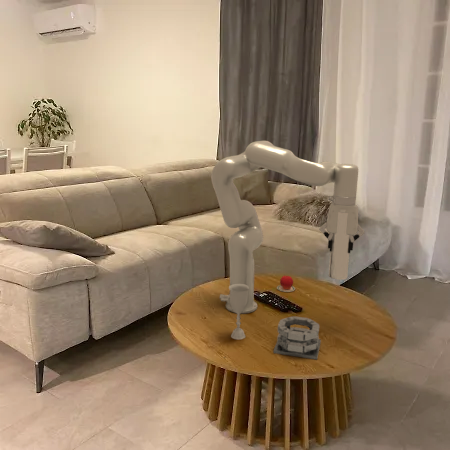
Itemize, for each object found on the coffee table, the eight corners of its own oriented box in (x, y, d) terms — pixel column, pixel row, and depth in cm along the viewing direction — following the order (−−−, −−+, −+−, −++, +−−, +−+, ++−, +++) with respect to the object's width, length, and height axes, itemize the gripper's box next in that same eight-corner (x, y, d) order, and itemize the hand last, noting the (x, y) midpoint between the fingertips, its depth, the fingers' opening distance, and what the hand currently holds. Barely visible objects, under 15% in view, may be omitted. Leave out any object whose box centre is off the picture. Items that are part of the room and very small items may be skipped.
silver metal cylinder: (348, 280, 163) (354, 210, 157) (328, 279, 164) (334, 209, 158) (346, 274, 169) (352, 206, 163) (328, 272, 170) (333, 205, 164)
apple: (274, 286, 210) (274, 272, 208) (291, 285, 212) (291, 271, 210) (280, 293, 202) (281, 279, 201) (297, 291, 204) (298, 277, 203)
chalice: (241, 342, 159) (242, 293, 155) (224, 337, 163) (224, 288, 158) (251, 334, 165) (252, 286, 161) (235, 329, 169) (235, 282, 164)
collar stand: (273, 353, 152) (274, 331, 150) (280, 335, 164) (281, 314, 162) (316, 360, 148) (318, 337, 146) (320, 341, 161) (322, 319, 159)
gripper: (317, 201, 158) (314, 252, 163) (371, 204, 154) (365, 257, 159) (319, 197, 165) (315, 246, 170) (370, 200, 161) (365, 250, 166)
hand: (340, 250), depth 164 cm, fingers closed on silver metal cylinder, 5 cm apart
